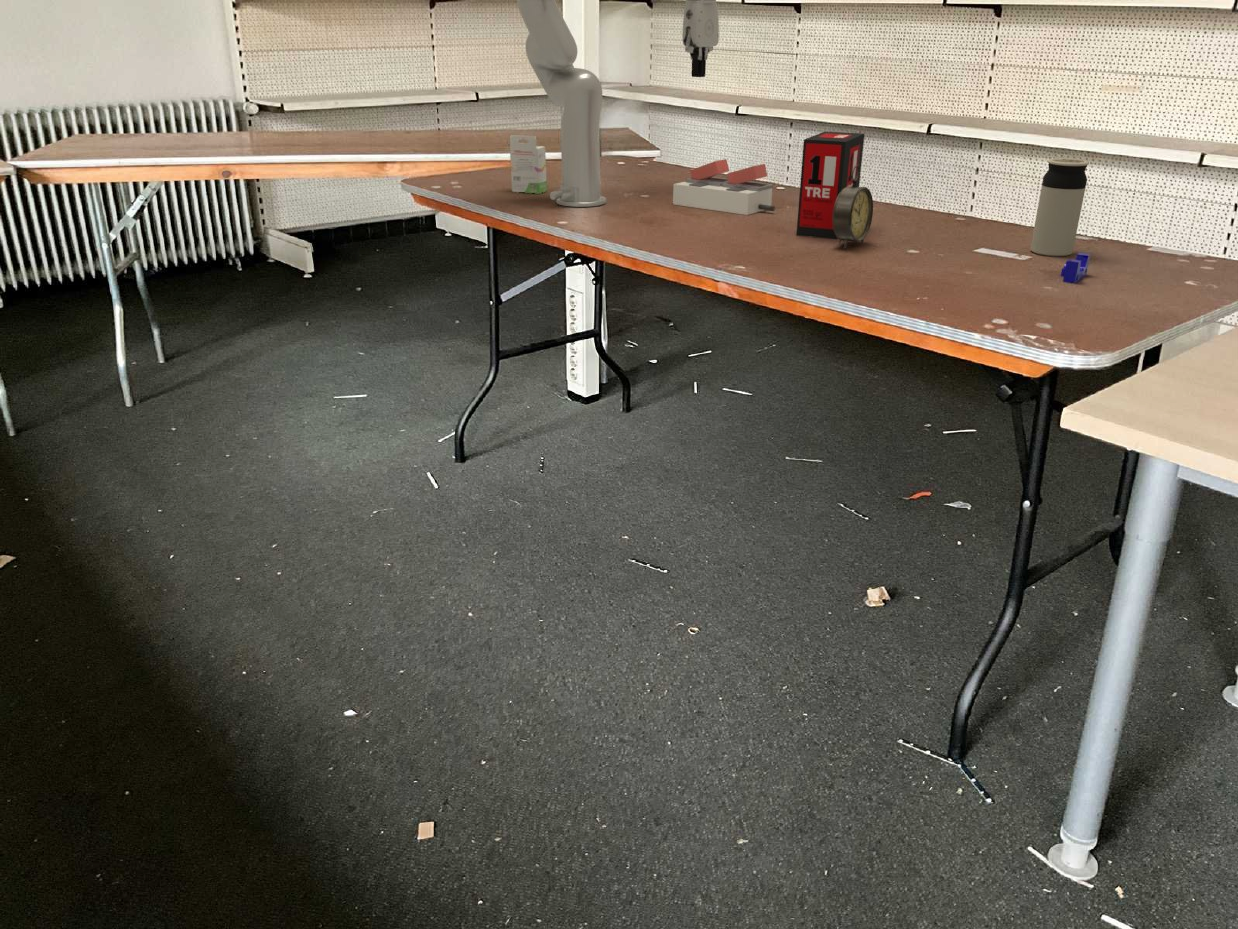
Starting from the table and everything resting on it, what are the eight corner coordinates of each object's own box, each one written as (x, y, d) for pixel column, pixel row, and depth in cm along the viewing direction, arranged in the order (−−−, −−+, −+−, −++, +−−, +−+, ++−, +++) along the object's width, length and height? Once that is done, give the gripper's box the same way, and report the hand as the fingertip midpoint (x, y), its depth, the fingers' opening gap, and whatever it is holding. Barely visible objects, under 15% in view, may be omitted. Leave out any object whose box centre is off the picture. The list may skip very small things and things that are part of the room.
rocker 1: (718, 173, 240) (715, 160, 239) (693, 182, 245) (689, 169, 245) (729, 170, 243) (726, 158, 243) (704, 179, 249) (701, 167, 248)
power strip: (761, 217, 231) (763, 191, 228) (673, 204, 245) (673, 180, 243) (785, 210, 238) (786, 185, 236) (697, 198, 253) (698, 175, 251)
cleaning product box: (836, 239, 209) (845, 141, 200) (796, 235, 212) (803, 139, 204) (855, 225, 222) (864, 133, 214) (817, 221, 226) (824, 131, 217)
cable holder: (1066, 272, 183) (1070, 251, 181) (1086, 275, 181) (1090, 254, 179) (1054, 281, 177) (1058, 259, 176) (1074, 284, 175) (1078, 262, 174)
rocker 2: (756, 178, 234) (753, 165, 233) (729, 185, 239) (726, 173, 238) (767, 176, 237) (764, 163, 236) (740, 183, 243) (737, 170, 242)
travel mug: (1076, 257, 193) (1095, 164, 186) (1034, 256, 194) (1051, 162, 187) (1066, 249, 200) (1084, 158, 193) (1026, 247, 202) (1042, 157, 194)
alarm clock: (848, 251, 198) (857, 169, 191) (824, 248, 201) (832, 166, 194) (871, 242, 206) (880, 162, 199) (847, 239, 209) (855, 160, 202)
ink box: (547, 191, 262) (546, 134, 256) (538, 194, 258) (537, 136, 252) (520, 189, 266) (517, 132, 260) (510, 192, 262) (508, 134, 255)
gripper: (696, -4, 232) (693, 78, 240) (730, -4, 243) (726, 75, 251) (670, -4, 237) (669, 77, 244) (705, -3, 247) (702, 74, 255)
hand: (698, 76), depth 248 cm, fingers closed
